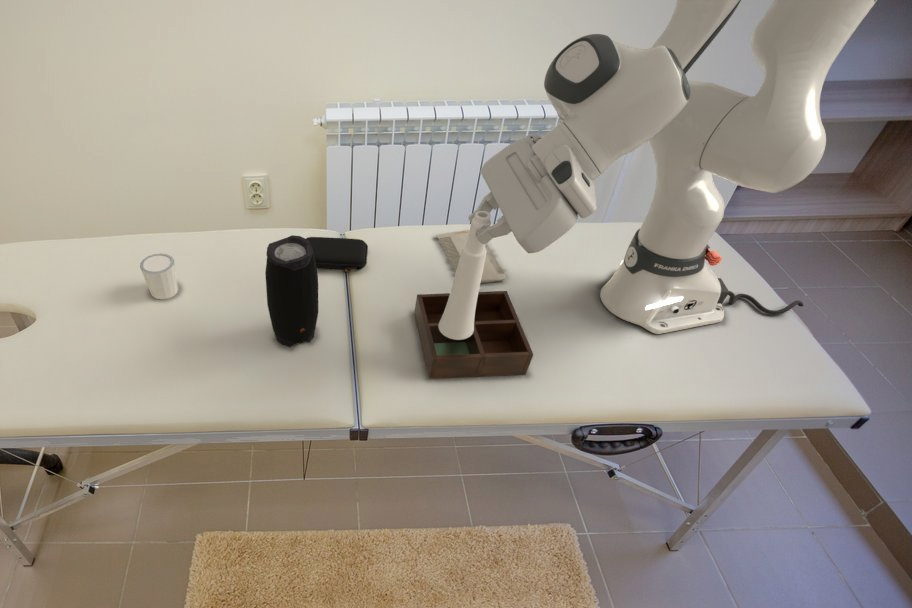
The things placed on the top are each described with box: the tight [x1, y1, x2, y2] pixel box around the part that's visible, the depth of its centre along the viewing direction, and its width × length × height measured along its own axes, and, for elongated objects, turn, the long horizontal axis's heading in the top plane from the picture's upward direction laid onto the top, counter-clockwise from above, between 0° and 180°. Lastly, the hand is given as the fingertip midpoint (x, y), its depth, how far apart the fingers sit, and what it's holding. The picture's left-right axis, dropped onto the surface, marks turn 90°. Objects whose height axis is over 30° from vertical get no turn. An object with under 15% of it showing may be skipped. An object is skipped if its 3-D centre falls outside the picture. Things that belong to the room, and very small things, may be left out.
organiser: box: [413, 290, 534, 380], centre depth 105 cm, size 17×17×5 cm
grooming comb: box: [436, 229, 507, 284], centre depth 124 cm, size 18×10×1 cm, turn 9°
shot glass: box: [139, 253, 179, 300], centre depth 116 cm, size 7×7×7 cm
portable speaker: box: [264, 235, 319, 348], centre depth 102 cm, size 9×9×20 cm
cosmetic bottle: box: [438, 211, 492, 340], centre depth 90 cm, size 6×6×22 cm
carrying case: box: [305, 236, 369, 273], centre depth 124 cm, size 11×3×15 cm
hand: (475, 231), depth 84 cm, fingers closed on cosmetic bottle, 3 cm apart
